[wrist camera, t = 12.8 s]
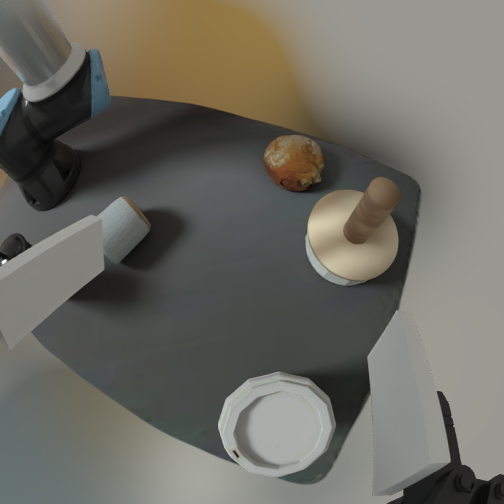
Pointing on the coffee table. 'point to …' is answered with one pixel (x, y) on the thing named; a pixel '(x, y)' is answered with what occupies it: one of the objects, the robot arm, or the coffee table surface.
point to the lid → (356, 230)
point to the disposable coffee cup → (277, 424)
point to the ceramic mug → (122, 228)
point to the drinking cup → (13, 247)
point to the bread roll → (294, 162)
